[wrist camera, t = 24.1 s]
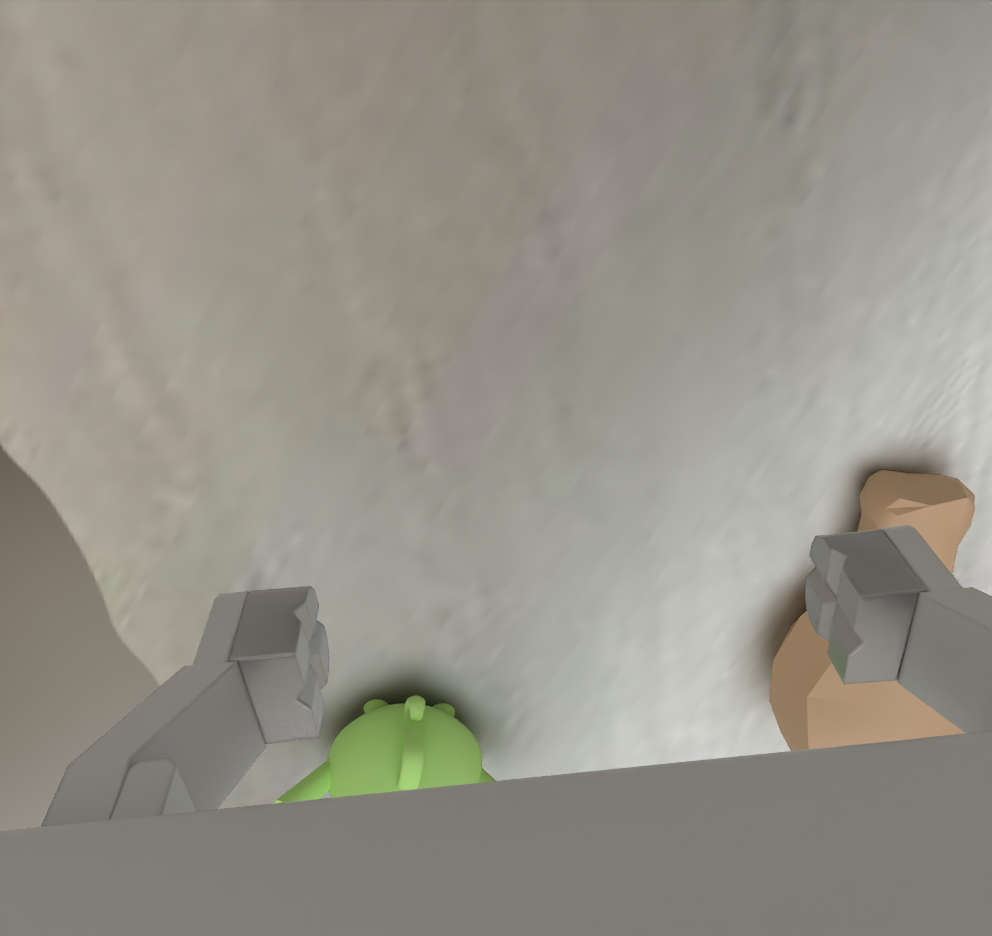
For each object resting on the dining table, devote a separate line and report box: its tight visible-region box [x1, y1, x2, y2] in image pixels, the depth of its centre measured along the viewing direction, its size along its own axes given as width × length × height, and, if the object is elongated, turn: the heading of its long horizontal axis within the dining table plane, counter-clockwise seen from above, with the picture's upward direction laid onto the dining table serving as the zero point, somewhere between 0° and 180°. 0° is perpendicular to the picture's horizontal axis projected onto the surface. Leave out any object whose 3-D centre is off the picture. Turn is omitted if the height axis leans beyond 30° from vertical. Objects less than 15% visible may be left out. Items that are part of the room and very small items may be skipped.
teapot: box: [274, 695, 495, 804], centre depth 52 cm, size 11×12×8 cm
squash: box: [770, 470, 975, 751], centre depth 48 cm, size 11×20×9 cm, turn 1°
